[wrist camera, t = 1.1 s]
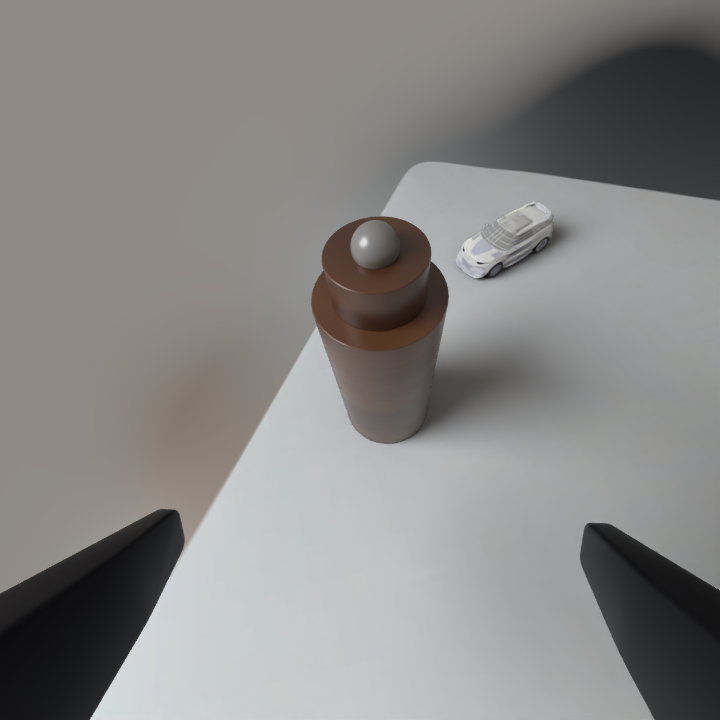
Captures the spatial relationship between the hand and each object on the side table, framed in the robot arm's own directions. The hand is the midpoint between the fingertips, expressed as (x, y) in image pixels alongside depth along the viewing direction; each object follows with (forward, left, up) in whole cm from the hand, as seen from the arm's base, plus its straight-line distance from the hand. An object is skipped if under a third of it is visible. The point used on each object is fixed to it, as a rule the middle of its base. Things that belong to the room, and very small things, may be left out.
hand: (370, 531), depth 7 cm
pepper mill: (+8, +3, -12) cm, 15 cm away
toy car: (+24, -1, -13) cm, 27 cm away
